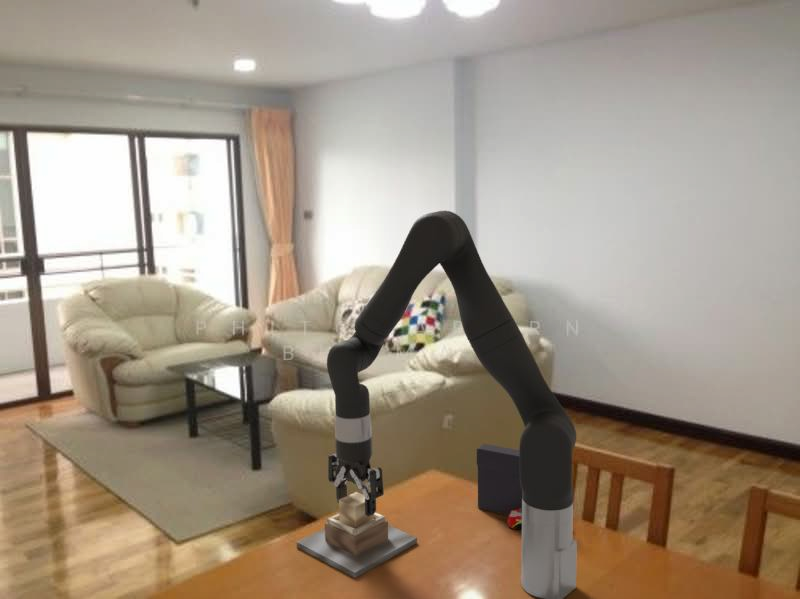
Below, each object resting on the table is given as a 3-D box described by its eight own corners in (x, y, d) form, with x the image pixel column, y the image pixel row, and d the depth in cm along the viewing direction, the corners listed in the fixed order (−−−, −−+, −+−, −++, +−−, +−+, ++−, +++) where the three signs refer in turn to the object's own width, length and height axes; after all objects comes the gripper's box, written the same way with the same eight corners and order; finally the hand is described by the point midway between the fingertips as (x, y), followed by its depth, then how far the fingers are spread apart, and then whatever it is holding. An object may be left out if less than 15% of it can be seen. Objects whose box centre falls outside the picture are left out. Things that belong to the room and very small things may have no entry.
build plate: (417, 542, 148) (416, 515, 147) (355, 578, 135) (354, 548, 134) (358, 516, 160) (357, 491, 159) (296, 547, 147) (295, 519, 146)
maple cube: (373, 520, 146) (372, 498, 146) (356, 529, 143) (355, 506, 142) (356, 513, 150) (356, 491, 149) (339, 522, 146) (338, 499, 145)
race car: (568, 525, 155) (569, 508, 154) (568, 537, 149) (568, 519, 149) (508, 519, 158) (509, 502, 157) (506, 530, 153) (506, 513, 152)
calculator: (527, 512, 160) (528, 450, 158) (521, 520, 157) (521, 456, 154) (484, 502, 166) (483, 442, 164) (476, 509, 162) (476, 448, 160)
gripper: (391, 437, 141) (392, 512, 144) (343, 422, 151) (346, 493, 153) (364, 447, 136) (366, 525, 138) (317, 431, 145) (320, 504, 148)
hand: (355, 508), depth 146 cm, fingers open, 8 cm apart
